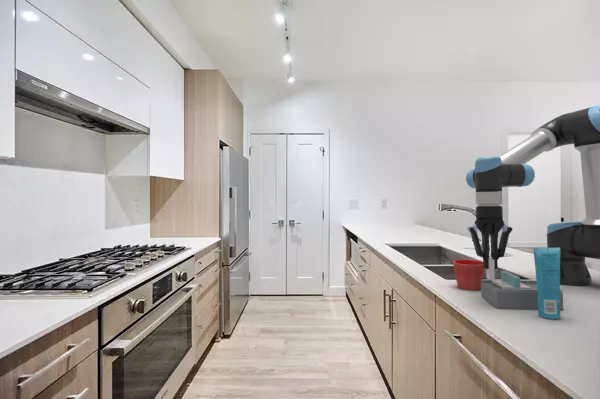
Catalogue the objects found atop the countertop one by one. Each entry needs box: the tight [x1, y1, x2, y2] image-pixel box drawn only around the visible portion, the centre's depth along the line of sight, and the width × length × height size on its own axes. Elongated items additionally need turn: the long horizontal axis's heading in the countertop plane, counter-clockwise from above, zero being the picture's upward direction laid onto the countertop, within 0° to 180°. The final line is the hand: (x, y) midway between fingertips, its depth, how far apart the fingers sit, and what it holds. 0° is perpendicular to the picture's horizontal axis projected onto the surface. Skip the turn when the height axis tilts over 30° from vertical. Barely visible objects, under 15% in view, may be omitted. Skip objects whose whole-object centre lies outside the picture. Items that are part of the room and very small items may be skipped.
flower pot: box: [452, 259, 486, 291], centre depth 128 cm, size 11×11×10 cm
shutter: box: [492, 270, 531, 289], centre depth 109 cm, size 7×10×4 cm
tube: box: [533, 247, 561, 320], centre depth 95 cm, size 7×5×19 cm, turn 96°
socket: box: [480, 279, 564, 311], centre depth 108 cm, size 18×13×6 cm
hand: (490, 279), depth 110 cm, fingers closed
